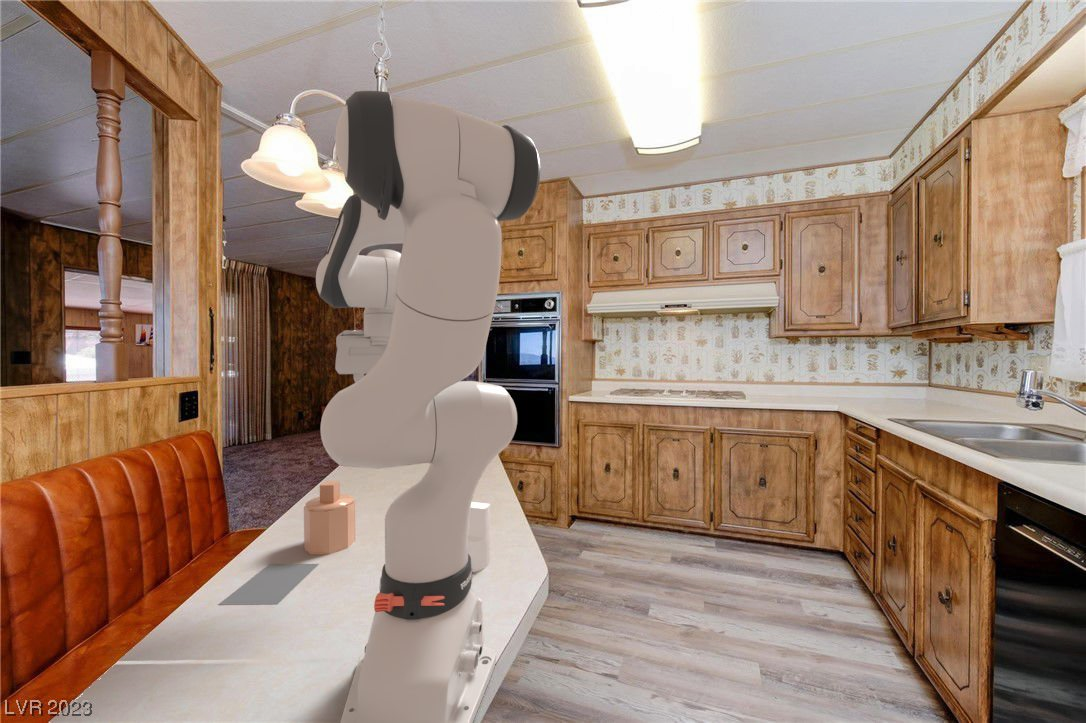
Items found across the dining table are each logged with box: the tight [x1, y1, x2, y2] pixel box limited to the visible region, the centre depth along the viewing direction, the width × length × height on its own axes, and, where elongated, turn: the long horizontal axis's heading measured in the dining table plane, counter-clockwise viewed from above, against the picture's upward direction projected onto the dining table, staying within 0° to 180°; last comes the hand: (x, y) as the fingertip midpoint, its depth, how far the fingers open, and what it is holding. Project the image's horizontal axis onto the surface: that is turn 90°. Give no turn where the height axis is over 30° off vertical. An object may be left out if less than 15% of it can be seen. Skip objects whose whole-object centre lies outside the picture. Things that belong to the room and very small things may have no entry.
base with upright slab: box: [468, 501, 491, 573], centre depth 88 cm, size 9×9×12 cm
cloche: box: [303, 480, 356, 555], centre depth 95 cm, size 10×10×14 cm
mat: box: [217, 563, 320, 606], centre depth 79 cm, size 14×10×1 cm
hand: (387, 395), depth 89 cm, fingers open, 8 cm apart
